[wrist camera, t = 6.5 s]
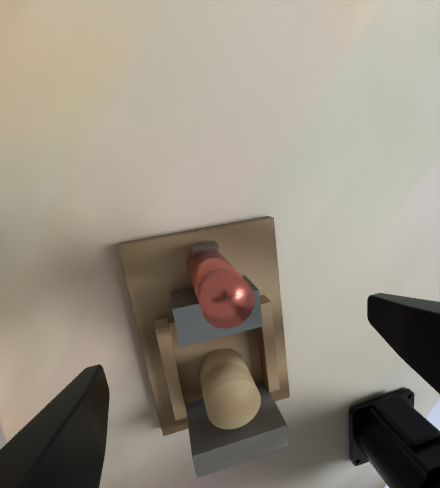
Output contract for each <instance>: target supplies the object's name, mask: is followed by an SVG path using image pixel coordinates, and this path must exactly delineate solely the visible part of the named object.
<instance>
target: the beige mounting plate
mask: <svg viewBox="0 0 440 488" xmlns="http://www.w3.org/2000/svg"><path fill="white" fill-rule="evenodd" d="M210 241H215V242H216V243H217V244H218V245H219V251H220V253H221V254H222V255H223V256H224V257H225V258H226V259H227V261H228V262H229V263H230V264H231V265H232V266H233V267H234V269H235V270H236V271H237V272H238V273H239V274H240V275H241V276H242V275H246V277H247V278H248V279H249V280H250V281H251V282H252V283H253V284H254V285H255V286H256V287H257V288H258V289H259V296H260V305H261V314H262V323H263V326H262V327H259V328H255V329H251V330H247V331H243V332H239V333H235V334H231V335H227V336H223V337H219V338H216V339H212V340H208V341H204V342H200V343H196V344H192V345H188V346H184V347H180V345H179V340H178V335H177V330H176V325H175V320H174V315H173V311H172V303H171V295H170V291H173V290H178V289H182V288H187V287H192V286H193V285H192V282H191V279H190V276H189V273H188V270H187V259H188V257H189V255H190V254H191V252H190V246H189V245H194V244H200V243H205V242H210ZM117 247H118V251H119V255H120V259H121V263H122V267H123V271H124V275H125V280H126V284H127V288H128V292H129V296H130V300H131V304H132V308H133V313H134V317H135V321H136V325H137V329H138V333H139V337H140V341H141V346H142V350H143V354H144V358H145V362H146V366H147V370H148V374H149V379H150V383H151V387H152V391H153V395H154V399H155V403H156V407H157V412H158V416H159V420H160V424H161V428H162V432H163V436H165V435H169V434H172V433H175V432H178V431H181V430H185V429H188V428H189V435H190V442H191V450H192V457H193V462H194V466H195V471H196V476H197V478H198V477H201V476H204V475H207V474H210V473H213V472H216V471H219V470H222V469H225V468H227V467H230V466H233V465H236V464H239V463H242V462H245V461H248V460H251V459H253V458H256V457H259V456H262V455H265V454H268V453H271V452H274V451H277V450H279V449H282V448H285V447H288V446H289V441H288V430H287V424H286V422H285V420H284V419H283V417H282V415H281V413H280V411H279V409H278V407H277V405H276V404H275V401H278V400H281V399H284V398H288V397H290V396H289V384H288V373H287V362H286V351H285V340H284V328H283V317H282V306H281V295H280V284H279V272H278V261H277V250H276V239H275V228H274V218H273V217H270V216H268V217H262V218H256V219H251V220H245V221H240V222H234V223H229V224H223V225H218V226H212V227H206V228H201V229H195V230H190V231H184V232H179V233H173V234H167V235H162V236H156V237H151V238H145V239H140V240H134V241H129V242H123V243H119V244H118V246H117ZM221 348H229V349H233V350H235V351H237V352H238V353H239V354H240V355H241V356H242V358H243V360H244V362H245V364H246V366H247V368H248V370H249V372H250V374H251V377H252V379H253V381H254V383H255V385H256V387H257V389H258V391H259V393H260V397H261V404H260V408H259V410H258V412H257V414H256V415H255V416H254V418H253V419H252V420H251V421H249V422H248V423H247V424H245V425H243V426H241V427H239V428H235V429H221V428H218V427H216V426H215V425H213V424H212V423H211V422H210V420H209V418H208V416H207V412H206V407H205V402H204V398H203V393H202V389H201V384H200V379H199V374H198V371H199V366H200V364H201V362H202V360H203V359H204V358H205V357H206V356H207V355H208V354H209V353H211V352H212V351H214V350H217V349H221Z"/></svg>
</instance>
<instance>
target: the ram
mask: <svg viewBox="0 0 440 488" xmlns="http://www.w3.org/2000/svg"><path fill="white" fill-rule="evenodd" d="M189 246H190V252H191V254H190V255H189V257H188V259H187V270H188V273H189V276H190V279H191V282H192V285H193V286H192V287H187V288H182V289H178V290H173V291H170V295H171V303H172V311H173V315H174V320H175V325H176V330H177V335H178V340H179V345H180V347H184V346H188V345H192V344H196V343H200V342H204V341H208V340H212V339H216V338H219V337H223V336H227V335H231V334H235V333H239V332H243V331H247V330H251V329H255V328H259V327H262V326H263V323H262V314H261V305H260V296H259V289H258V288H257V287H256V286H255V285H254V284H253V283H252V282H251V281H250V280H249V279H248V278H247V277H246V275H242V276H241V275H240V274H239V273H238V272H237V271H236V270H235V269H234V267H233V266H232V265H231V264H230V263H229V262H228V261H227V259H226V258H225V257H224V256H223V255H222V254H221V253H220V251H219V245H218V244H217V243H216V242H215V241H210V242H205V243H200V244H194V245H189Z"/></svg>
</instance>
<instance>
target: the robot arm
mask: <svg viewBox="0 0 440 488" xmlns="http://www.w3.org/2000/svg"><path fill="white" fill-rule="evenodd" d="M367 317H368V320H369V322H370V324H371V325H372V326H373V327H374V328H375V330H376V331H377V332H378V333H379V334H380V335H381V336H382V337H383V338H384V339H385V341H386V342H387V343H388V344H389V345H390V346H391V347H392V348H393V349H394V351H395V352H396V353H397V354H398V355H399V356H400V357H401V358H402V359H403V360H404V361H405V362H406V363H407V364H408V365H409V366H410V367H411V368H412V369H413V370H415V371H416V372H417V373H418V374H419V375H420V376H421V377H422V378H423V379H424V380H425V381H426V382H427V383H428V384H430V385H431V386H432V387H433V388H434V389H435V390H436V391H437V392H438V393H439V394H440V302H436V301H429V300H423V299H416V298H410V297H403V296H397V295H390V294H384V293H377V294H374V295H370V296H369V297H368V300H367ZM108 409H109V387H108V384H107V380H106V377H105V373H104V370H103V367H102V366H101V365H95V366H91V367H87V368H85V369H84V370H83V371H82V372H81V373H80V374H79V375H78V376H77V377H76V378H75V379H74V380H73V381H72V382H71V383H70V384H69V385H68V386H66V387H65V388H64V389H63V390H62V391H61V392H60V393H59V394H58V395H57V396H56V397H55V398H54V399H53V400H52V401H51V402H50V403H49V404H48V405H47V406H46V407H45V408H43V409H42V410H41V411H40V412H39V413H38V414H37V415H36V416H35V417H34V418H33V419H32V420H31V421H30V422H29V423H28V424H27V425H26V426H25V427H24V428H23V429H21V430H20V431H19V432H18V433H17V434H16V435H15V436H14V437H13V438H12V439H11V440H10V441H9V442H8V443H7V444H6V445H5V446H4V447H3V448H2V449H1V450H0V488H99V485H100V479H101V473H102V468H103V462H104V456H105V449H106V437H107V423H108ZM349 421H350V460H351V462H352V463H353V464H354V465H355V466H358V465H361V464H363V463H366V462H369V461H370V463H371V464H372V465H373V467H374V468H375V469H376V471H377V472H378V473H379V475H380V476H381V477H382V479H383V480H384V481H385V483H386V484H387V485H388V487H389V488H440V431H439V430H438V429H437V428H436V427H435V426H433V425H432V424H431V423H430V422H429V421H428V420H427V419H426V418H424V417H423V416H422V415H421V414H420V413H419V412H418V411H417V410H415V409H414V393H413V392H412V391H411V390H410V389H404V390H401V391H398V392H395V393H392V394H389V395H386V396H383V397H380V398H377V399H374V400H371V401H368V402H365V403H362V404H359V405H356V406H353V407H352V408H351V409H350V411H349Z"/></svg>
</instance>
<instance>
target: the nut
mask: <svg viewBox="0 0 440 488" xmlns="http://www.w3.org/2000/svg"><path fill="white" fill-rule="evenodd" d="M198 374H199V379H200V384H201V389H202V393H203V398H204V402H205V407H206V412H207V416H208V418H209V420H210V422H211V423H212V424H213V425H215V426H216V427H218V428H221V429H235V428H239V427H241V426H243V425H245V424H247V423H248V422H249V421H251V420H252V419H253V418H254V416H255V415H256V414H257V412H258V410H259V408H260V404H261V397H260V393H259V391H258V389H257V387H256V385H255V383H254V381H253V379H252V377H251V374H250V372H249V370H248V368H247V366H246V364H245V362H244V360H243V358H242V356H241V355H240V354H239V353H238V352H237V351H235V350H233V349H229V348H221V349H217V350H214V351H212V352H211V353H209V354H208V355H207V356H206V357H205V358H204V359H203V360H202V362H201V364H200V366H199V371H198Z"/></svg>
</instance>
